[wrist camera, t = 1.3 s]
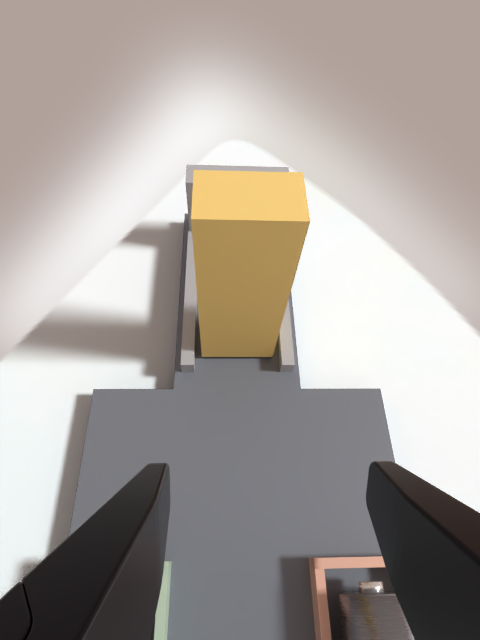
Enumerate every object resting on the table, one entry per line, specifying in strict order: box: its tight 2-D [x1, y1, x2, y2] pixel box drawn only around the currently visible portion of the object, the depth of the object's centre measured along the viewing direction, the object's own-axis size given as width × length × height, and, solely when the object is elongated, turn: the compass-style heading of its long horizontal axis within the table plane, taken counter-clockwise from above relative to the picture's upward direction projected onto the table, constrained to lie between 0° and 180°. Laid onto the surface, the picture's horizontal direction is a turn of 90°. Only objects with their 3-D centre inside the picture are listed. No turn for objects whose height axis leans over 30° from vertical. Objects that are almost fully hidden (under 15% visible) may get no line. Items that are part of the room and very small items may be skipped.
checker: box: [69, 165, 395, 640], centre depth 20 cm, size 30×16×6 cm, turn 1°
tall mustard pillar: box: [191, 170, 310, 357], centre depth 19 cm, size 2×4×11 cm, turn 91°
